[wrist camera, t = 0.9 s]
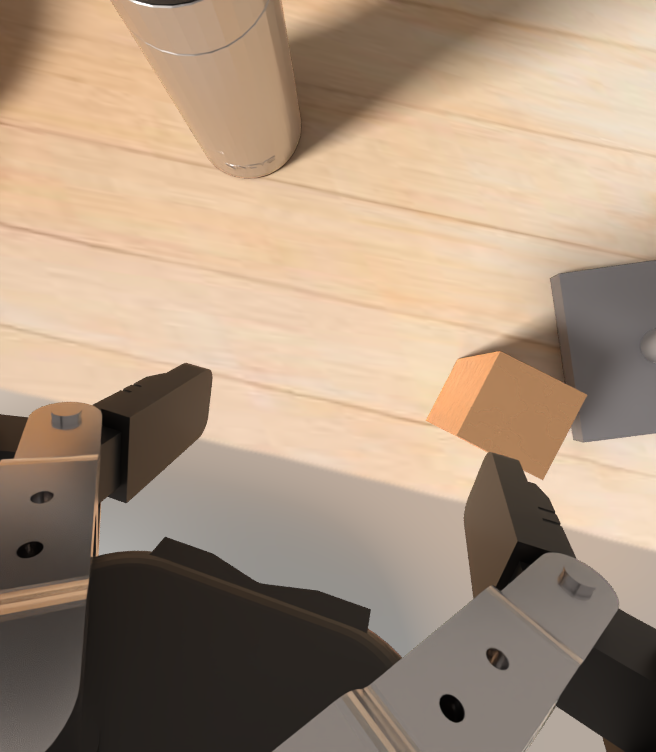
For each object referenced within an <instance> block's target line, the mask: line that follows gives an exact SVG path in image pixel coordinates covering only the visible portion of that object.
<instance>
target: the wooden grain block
mask: <svg viewBox="0 0 656 752" xmlns="http://www.w3.org/2000/svg"><path fill="white" fill-rule="evenodd" d="M586 397H587V394H585V393H583V392H581V391H579V390H577V389H575V388H573V387H571V386H569V385H567V384H565V383H563V382H561V381H559V380H557V379H555V378H553V377H551V376H549V375H547V374H545V373H543V372H541V371H539V370H537V369H535V368H533V367H531V366H529V365H527V364H525V363H523V362H521V361H519V360H517V359H515V358H513V357H511V356H509V355H507V354H505V353H503V352H501V351H498V352H492V353H487V354H482V355H477V356H471V357H466V358H461V359H458V360H457V362H456V364H455V365H454V367H453V369H452V371H451V373H450V375H449V377H448V379H447V381H446V383H445V385H444V387H443V389H442V391H441V392H440V394H439V396H438V398H437V400H436V402H435V404H434V406H433V408H432V410H431V412H430V414H429V416H428V418H427V419H426V421H428V422H430V423H432V424H434V425H436V426H437V427H439V428H441V429H443V430H445V431H447V432H449V433H451V434H453V435H455V436H457V437H459V438H461V439H463V440H465V441H467V442H469V443H470V444H472V445H474V446H476V447H478V448H480V449H482V450H484V451H486V452H493V453H496V454H500V455H503V456H507V457H510V458H513V459H517V460H519V461H520V464H521V466H522V469H523V470H524V471H526V472H528V473H530V474H532V475H534V476H536V477H538V478H540V479H542V480H543V479H544V477H545V475H546V473H547V471H548V469H549V468H550V466H551V464H552V462H553V460H554V458H555V456H556V454H557V452H558V450H559V448H560V446H561V445H562V443H563V441H564V439H565V437H566V435H567V433H568V431H569V429H570V427H571V425H572V423H573V422H574V420H575V418H576V416H577V414H578V412H579V410H580V408H581V406H582V404H583V402H584V400H585V399H586Z"/></svg>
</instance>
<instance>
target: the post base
mask: <svg viewBox="0 0 656 752" xmlns="http://www.w3.org/2000/svg"><path fill="white" fill-rule="evenodd" d="M550 280H551V287H552V294H553V301H554V308H555V315H556V322H557V329H558V336H559V343H560V350H561V357H562V364H563V371H564V378H565V384H567V385H569V386H571V387H573V388H575V389H577V390H579V391H581V392H583V393H585V394H587V397H586V399H585V400H584V402H583V404H582V406H581V408H580V410H579V412H578V414H577V416H576V418H575V420H574V422H573V423H572V425H571V426H572V433H573V440H576V441H580V442H591V441H599V440H606V439H614V438H622V437H630V436H638V435H646V434H654V433H656V260H653V261H646V262H639V263H632V264H625V265H618V266H611V267H604V268H597V269H589V270H582V271H575V272H568V273H561V274H558V275H556V276H554V277H552V278H550Z"/></svg>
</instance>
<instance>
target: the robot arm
mask: <svg viewBox="0 0 656 752" xmlns="http://www.w3.org/2000/svg"><path fill="white" fill-rule="evenodd" d="M111 2H112V4H113V5H114V7H115V9H116V10H117V12H118V13H119V15H120V17H121V18H122V19H123V21H124V23H125V24H126V26H127V28H128V29H129V31H130V32H131V34H132V36H133V37H134V39H135V41H136V42H137V44H138V45H139V47H140V49H141V50H142V52H143V54H144V55H145V57H146V58H147V60H148V62H149V63H150V65H151V67H152V68H153V70H154V71H155V73H156V75H157V76H158V78H159V80H160V81H161V83H162V84H163V86H164V88H165V89H166V91H167V93H168V94H169V96H170V97H171V99H172V101H173V102H174V104H175V106H176V107H177V109H178V110H179V112H180V114H181V115H182V117H183V119H184V120H185V122H186V123H187V125H188V127H189V129H190V130H191V132H192V133H193V135H194V137H195V138H196V140H197V141H198V143H199V145H200V146H201V148H202V149H203V151H204V153H205V154H206V156H207V157H208V159H209V160H210V161H211V162H212V163H213V164H214V165H215V166H216V167H217V168H219V169H220V170H222V171H223V172H225V173H227V174H229V175H232V176H235V177H240V178H258V177H261V176H265V175H268V174H270V173H272V172H274V171H276V170H278V169H279V168H280V167H281V166H283V165H284V164H285V163H286V162H287V161H288V159H289V158H290V157H291V156H292V155H293V153H294V151H295V149H296V147H297V145H298V142H299V138H300V135H301V117H300V111H299V105H298V98H297V92H296V85H295V79H294V73H293V67H292V61H291V55H290V49H289V43H288V37H287V31H286V25H285V19H284V13H283V7H282V0H111ZM211 387H212V372H211V370H209V369H205V368H202V367H199V366H195V365H192V364H188V363H184V364H182V365H180V366H178V367H176V368H174V369H173V370H171V371H169V372H167V373H163V374H158V375H153V376H149V377H146V378H144V379H142V380H140V381H138V382H136V383H134V385H130V386H128V387H126V388H124V389H123V391H121V390H120V391H119V392H117V393H115V394H113V395H111V396H109V397H107V398H105V399H103V400H101V401H99V402H97V403H95V404H93V405H89V404H85V403H79V402H61V403H54V404H49V405H46V406H43V407H40V408H38V409H36V410H35V411H33V412H32V413H31V414H30V415H29V417H18V416H10V415H1V414H0V752H526V751H527V750H528V748H529V747H530V745H531V744H532V742H533V741H534V739H535V738H536V736H537V735H538V733H539V732H540V730H541V729H542V727H543V726H544V724H545V723H546V721H547V720H548V718H549V717H550V715H551V714H552V712H553V711H554V709H555V707H556V706H557V707H558V708H560V709H561V710H563V711H564V712H566V713H568V714H569V715H570V716H572V717H573V718H575V719H576V720H578V721H579V722H581V723H583V724H584V725H586V726H587V727H588V728H590V729H591V730H593V731H594V732H596V733H597V734H599V735H600V736H602V737H603V741H604V745H605V748H606V752H656V629H655V628H653V627H651V626H649V625H647V624H646V623H643V622H642V621H640V620H638V619H636V618H634V617H633V616H630V615H629V614H627V613H625V612H624V611H622V610H620V609H619V600H618V597H617V595H616V592H615V591H614V589H613V588H612V586H611V585H610V584H609V583H608V582H607V581H606V580H605V579H604V578H603V577H602V576H601V575H600V574H599V573H598V572H596V571H595V570H594V569H592V568H591V567H590V566H588V565H586V564H585V563H583V562H581V561H579V560H577V559H576V557H575V554H574V552H573V550H572V548H571V546H570V543H569V541H568V539H567V537H566V535H565V532H564V530H563V528H562V526H560V521H559V519H558V517H557V515H556V514H555V510H554V508H553V506H552V504H551V502H550V499H549V498H548V497H547V496H546V495H545V493H544V492H543V491H542V490H541V489H540V488H539V487H538V486H537V485H536V484H534V483H531V482H528V481H527V479H526V476H525V474H524V471H523V469H522V466H521V464H520V461H519V460H517V459H513V458H510V457H507V456H503V455H500V454H496V453H493V452H488V453H487V455H486V456H485V458H484V460H483V463H482V465H481V468H480V470H479V473H478V475H477V477H476V480H475V482H474V485H473V487H472V490H471V492H470V495H469V497H468V500H467V503H466V507H465V513H464V527H465V535H466V543H467V551H468V559H469V566H470V575H471V583H472V591H473V600H472V601H470V602H469V603H468V604H467V605H466V606H464V607H463V608H462V609H461V610H460V611H459V612H457V613H456V614H455V615H454V616H453V617H451V618H450V619H449V620H448V621H446V622H445V623H444V624H443V625H442V626H441V627H439V628H438V629H437V630H435V631H434V632H433V633H432V634H431V635H429V636H428V637H427V638H426V639H425V640H423V641H422V642H421V643H420V644H419V645H417V646H416V647H415V648H414V649H413V650H411V651H410V652H409V653H408V654H407V655H405V656H404V657H403V658H402V657H401V656H400V655H399V654H398V653H397V652H396V651H395V650H394V649H393V648H392V647H391V646H390V645H389V644H388V643H386V642H385V641H384V640H383V639H381V638H380V637H379V636H378V635H377V634H375V633H374V632H372V631H371V630H369V629H368V623H369V617H370V611H371V610H370V609H368V608H365V607H362V606H360V605H357V604H354V603H351V602H348V601H345V600H342V599H340V598H337V597H334V596H331V595H328V594H326V593H323V592H320V591H316V590H308V589H300V588H292V587H284V586H275V585H268V584H261V583H259V582H256V581H254V580H252V579H251V578H250V577H248V576H247V575H245V574H243V573H242V572H240V571H239V570H237V569H236V568H234V567H233V566H231V565H230V564H228V563H227V562H225V561H223V560H222V559H220V558H219V557H217V556H216V555H214V554H212V553H209V552H207V551H204V550H201V549H198V548H195V547H193V546H190V545H187V544H184V543H181V542H178V541H175V540H173V539H170V538H167V537H165V538H164V539H163V540H162V541H161V542H160V543H159V544H158V546H157V547H156V548H155V549H154V550H153V551H152V552H150V551H125V552H124V551H123V552H115V553H109V554H104V555H100V556H99V537H100V536H99V535H100V518H101V502H102V501H103V500H104V499H105V498H106V497H110V498H113V499H116V500H118V501H121V502H124V503H127V502H129V500H131V499H132V498H133V497H134V496H135V495H136V494H137V493H138V492H140V490H142V489H143V488H144V487H145V486H146V485H147V484H148V483H150V481H152V480H153V479H154V478H155V477H156V476H157V475H158V474H160V472H162V471H163V470H164V469H165V468H166V467H167V466H168V465H169V464H171V463H172V462H173V461H174V460H175V459H176V458H177V457H178V456H179V455H181V454H182V453H183V452H184V451H185V450H186V449H187V448H188V447H189V446H190V445H192V444H193V443H194V442H195V441H196V440H197V439H198V438H199V437H200V436H201V435H202V433H203V431H204V429H205V427H206V424H207V420H208V413H209V404H210V396H211Z"/></svg>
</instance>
